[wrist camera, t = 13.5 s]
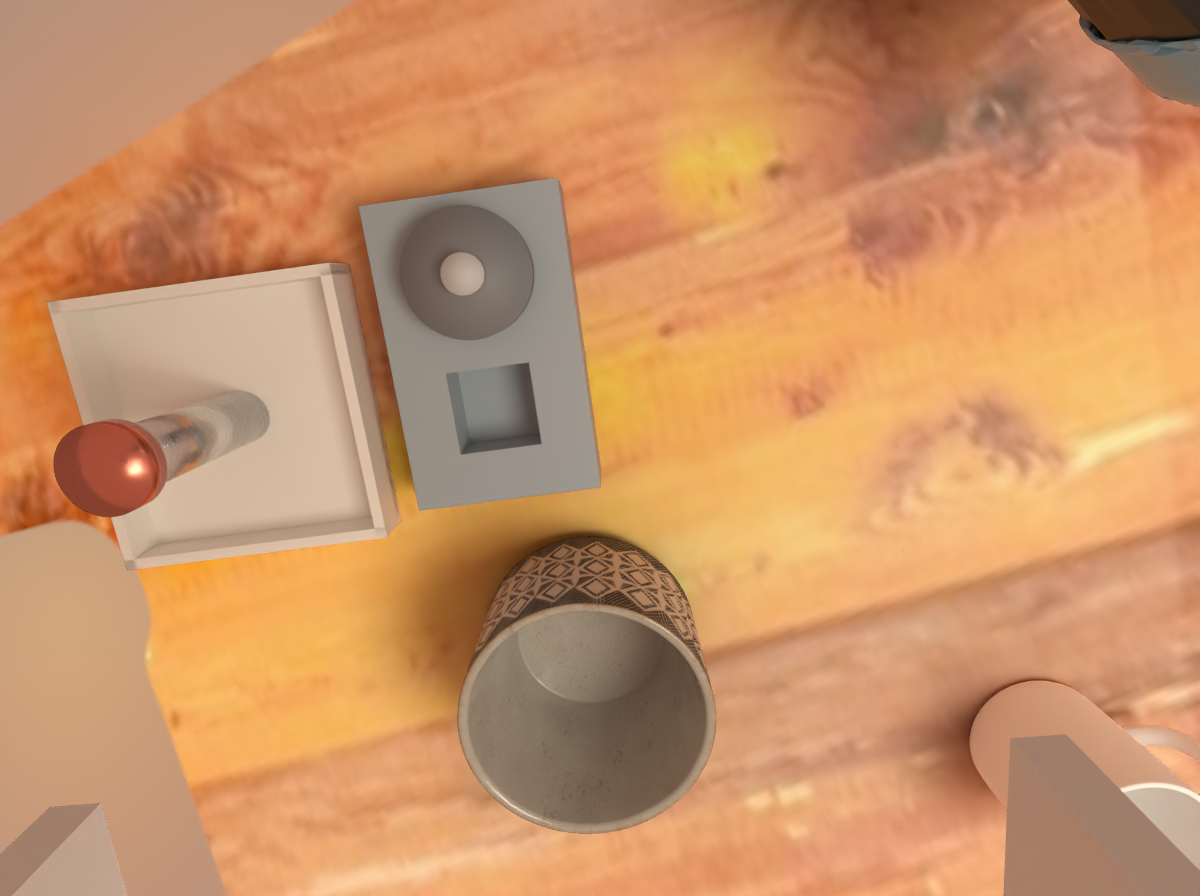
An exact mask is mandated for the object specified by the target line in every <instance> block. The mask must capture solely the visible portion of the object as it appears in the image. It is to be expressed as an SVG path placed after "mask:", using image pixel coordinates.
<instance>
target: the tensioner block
mask: <svg viewBox="0 0 1200 896" xmlns="http://www.w3.org/2000/svg"><path fill="white" fill-rule="evenodd" d="M358 207H359V212H360V217H361V222H362V227H363V232H364V237H365V242H366V247H367V252H368V257H369V262H370V267H371V272H372V277H373V282H374V287H375V292H376V297H377V302H378V307H379V312H380V317H381V322H382V327H383V332H384V337H385V342H386V347H387V352H388V357H389V362H390V367H391V372H392V377H393V382H394V387H395V392H396V397H397V402H398V407H399V412H400V417H401V422H402V427H403V432H404V437H405V442H406V447H407V452H408V457H409V462H410V467H411V472H412V477H413V482H414V487H415V492H416V497H417V503H418V508H419V511H421V510H429V509H436V508H444V507H452V506H460V505H468V504H475V503H483V502H491V501H499V500H507V499H514V498H522V497H530V496H538V495H546V494H553V493H561V492H569V491H577V490H585V489H592V488H600V487H601V466H600V459H599V452H598V444H597V437H596V430H595V423H594V416H593V408H592V401H591V394H590V387H589V379H588V372H587V365H586V358H585V351H584V343H583V336H582V329H581V322H580V315H579V307H578V300H577V293H576V286H575V279H574V271H573V264H572V257H571V250H570V243H569V235H568V228H567V221H566V214H565V207H564V199H563V192H562V187H561V185H560V182H559V180H558V178H551V179H544V180H537V181H530V182H524V183H517V184H510V185H503V186H496V187H489V188H482V189H475V190H468V191H461V192H454V193H447V194H440V195H433V196H426V197H419V198H412V199H405V200H398V201H391V202H384V203H377V204H370V205H363V206H358Z"/></svg>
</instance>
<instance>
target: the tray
mask: <svg viewBox="0 0 1200 896" xmlns="http://www.w3.org/2000/svg"><path fill="white" fill-rule="evenodd" d="M47 305H48V308H49V312H50V315H51V318H52V322H53V325H54V328H55V332H56V335H57V338H58V342H59V345H60V348H61V352H62V355H63V358H64V362H65V365H66V368H67V372H68V375H69V378H70V382H71V385H72V388H73V392H74V395H75V398H76V402H77V405H78V408H79V412H80V415H81V418H82V422H83V425H87V424H90V423H94V422H97V421H101V420H105V419H122V420H127V421H130V422H133V423H135V422H138V421H142V420H145V419H148V418H151V417H155V416H158V415H161V414H164V413H168V412H171V411H174V410H177V409H180V408H184V407H187V406H190V405H193V404H197V403H200V402H203V401H206V400H210V399H213V398H216V397H219V396H223V395H226V394H229V393H232V392H236V391H246V392H249V393H252V394H254V395H256V396H257V397H259V398H260V399H261V400H262V401H263V402H264V404H265V405H266V407H267V409H268V412H269V416H270V423H269V427H268V429H267V431H266V433H265V434H264V435H263V436H262V437H261V438H259V439H258V440H255V441H253V442H251V443H249V444H247V445H245V446H243V447H240V448H238V449H236V450H234V451H232V452H230V453H228V454H225V455H223V456H221V457H219V458H217V459H215V460H213V461H211V462H208V463H206V464H204V465H202V466H200V467H198V468H196V469H193V470H191V471H189V472H187V473H185V474H183V475H181V476H178V477H176V478H174V479H172V480H170V481H168V482H166V483H165V485H164V487H163V489H162V491H161V492H160V494H159V495H158V496H157V497H156V498H155V499H154V500H153V501H151V502H150V503H148V504H146V505H144V506H142V507H140V508H138V509H136V510H134V511H132V512H130V513H128V514H125V515H122V516H118V517H111V519H112V522H113V525H114V529H115V532H116V535H117V539H118V542H119V545H120V549H121V552H122V555H123V559H124V562H125V565H126V569H127V570H134V569H142V568H150V567H158V566H165V565H173V564H181V563H189V562H197V561H205V560H213V559H221V558H228V557H236V556H244V555H252V554H260V553H268V552H276V551H284V550H291V549H299V548H307V547H315V546H323V545H331V544H339V543H347V542H354V541H362V540H370V539H378V538H386V537H388V536H389V535H390V533H391V532H392V531H393V530H394V529H395V527H396V526H397V525H398V524H399V523H400V521H401V515H400V511H399V506H398V501H397V496H396V491H395V486H394V481H393V477H392V472H391V467H390V462H389V457H388V452H387V447H386V442H385V438H384V433H383V428H382V423H381V418H380V413H379V408H378V404H377V399H376V394H375V389H374V384H373V379H372V374H371V370H370V365H369V360H368V355H367V350H366V345H365V340H364V336H363V331H362V326H361V321H360V316H359V311H358V306H357V301H356V297H355V292H354V287H353V282H352V277H351V272H350V267H349V264H344V263H323V264H316V265H309V266H301V267H294V268H287V269H280V270H273V271H266V272H259V273H252V274H245V275H238V276H231V277H223V278H216V279H209V280H202V281H195V282H188V283H181V284H174V285H167V286H160V287H152V288H145V289H138V290H131V291H124V292H117V293H110V294H103V295H96V296H89V297H81V298H74V299H67V300H60V301H53V302H47Z"/></svg>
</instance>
